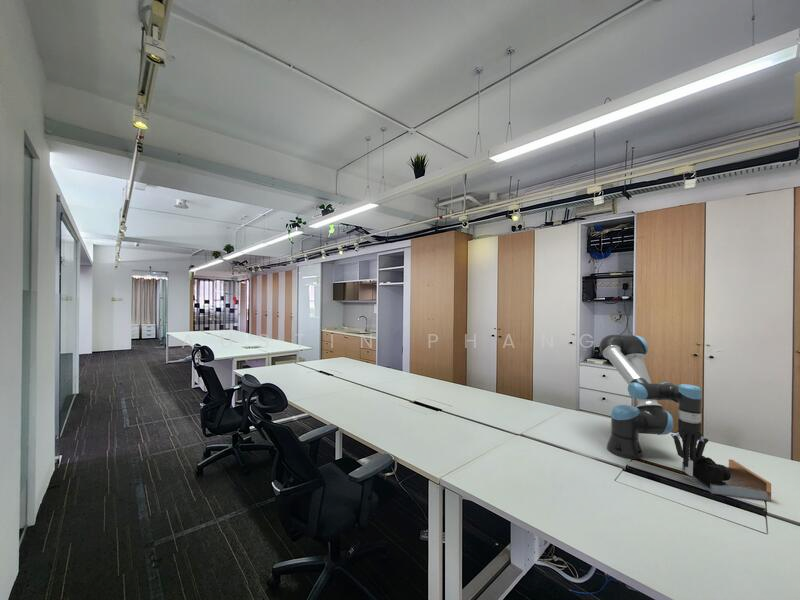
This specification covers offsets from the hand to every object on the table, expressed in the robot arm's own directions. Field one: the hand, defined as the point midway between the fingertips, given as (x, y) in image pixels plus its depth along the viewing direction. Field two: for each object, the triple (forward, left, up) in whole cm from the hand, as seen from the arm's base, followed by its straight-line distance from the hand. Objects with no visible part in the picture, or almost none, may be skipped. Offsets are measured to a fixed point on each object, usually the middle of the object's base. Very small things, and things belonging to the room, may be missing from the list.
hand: (688, 474), depth 140 cm
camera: (+9, 0, -2) cm, 9 cm away
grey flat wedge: (+12, 0, -3) cm, 12 cm away
